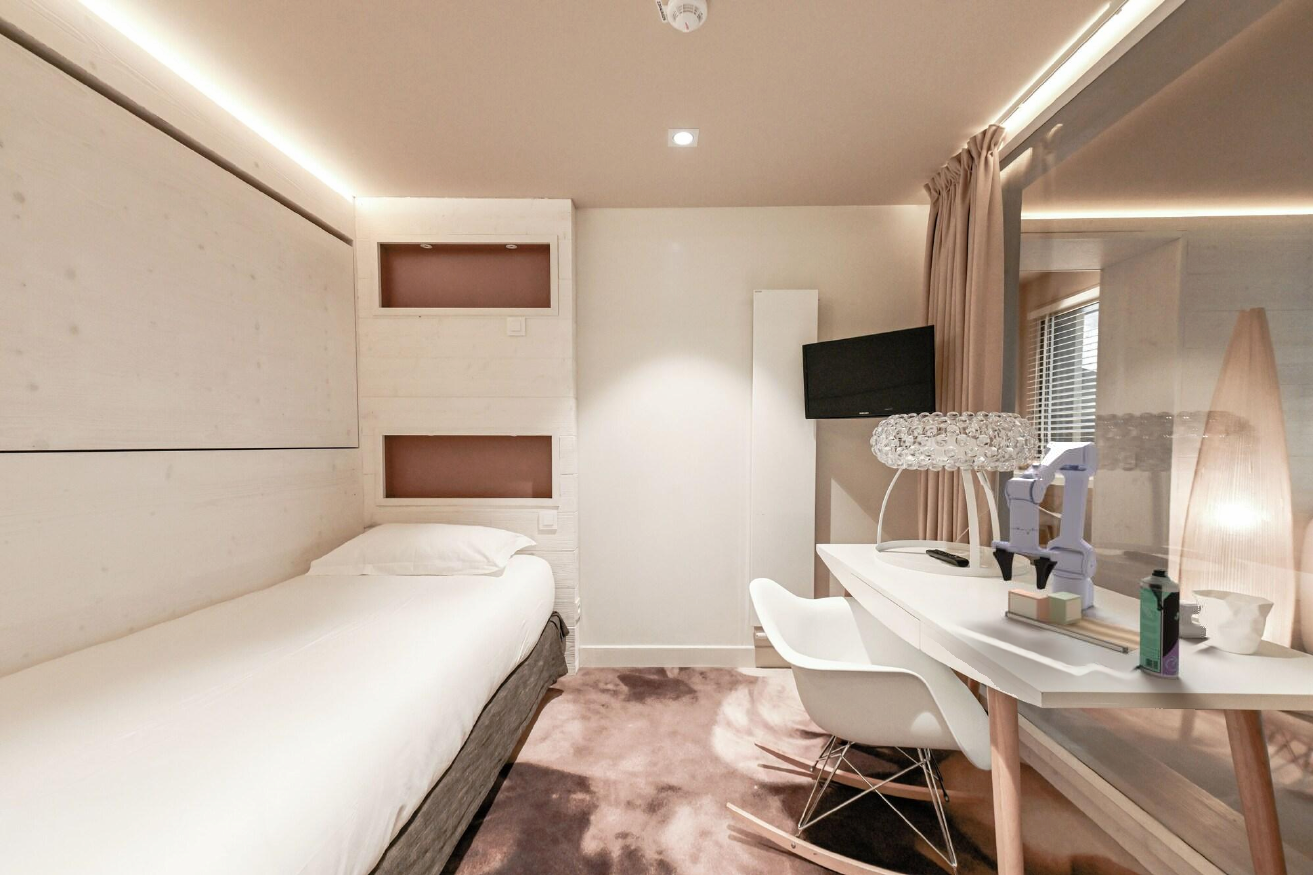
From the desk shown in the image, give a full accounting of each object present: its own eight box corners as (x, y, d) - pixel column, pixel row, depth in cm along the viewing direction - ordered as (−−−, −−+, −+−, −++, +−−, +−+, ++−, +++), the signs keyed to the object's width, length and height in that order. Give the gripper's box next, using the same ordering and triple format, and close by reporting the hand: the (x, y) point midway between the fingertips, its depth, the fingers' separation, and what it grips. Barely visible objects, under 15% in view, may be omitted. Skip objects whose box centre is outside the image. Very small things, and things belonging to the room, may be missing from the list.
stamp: (1188, 633, 121) (1188, 597, 121) (1218, 644, 114) (1219, 606, 114) (1149, 632, 121) (1149, 596, 121) (1177, 644, 114) (1177, 606, 114)
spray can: (1182, 681, 97) (1184, 574, 97) (1143, 674, 100) (1144, 570, 100) (1173, 670, 102) (1174, 568, 101) (1136, 663, 105) (1137, 564, 104)
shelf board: (1045, 610, 136) (1045, 606, 136) (1165, 644, 114) (1165, 638, 114) (1005, 620, 129) (1005, 615, 129) (1125, 658, 107) (1125, 652, 107)
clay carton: (1017, 612, 131) (1018, 588, 131) (1048, 621, 125) (1048, 596, 125) (1007, 614, 129) (1008, 590, 129) (1038, 624, 123) (1038, 598, 123)
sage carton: (1046, 619, 126) (1046, 594, 126) (1062, 615, 129) (1062, 591, 129) (1065, 625, 122) (1065, 599, 122) (1081, 620, 125) (1082, 596, 125)
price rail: (1007, 619, 129) (1007, 610, 129) (1128, 657, 107) (1128, 646, 107) (1005, 620, 129) (1005, 611, 129) (1125, 658, 107) (1125, 647, 107)
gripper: (983, 524, 130) (983, 578, 130) (1047, 535, 117) (1047, 595, 117) (1001, 522, 133) (1001, 575, 133) (1065, 532, 120) (1065, 591, 120)
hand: (1023, 584), depth 125 cm, fingers open, 7 cm apart
